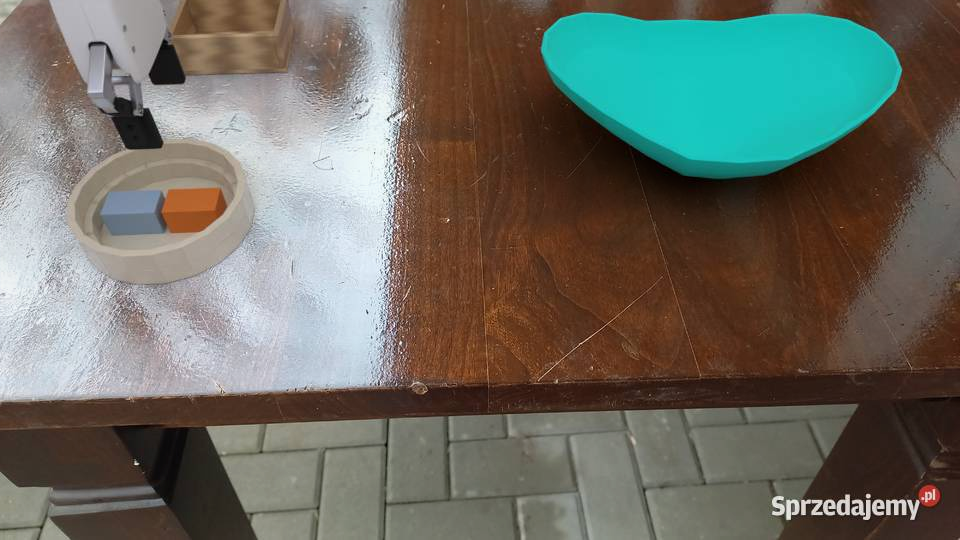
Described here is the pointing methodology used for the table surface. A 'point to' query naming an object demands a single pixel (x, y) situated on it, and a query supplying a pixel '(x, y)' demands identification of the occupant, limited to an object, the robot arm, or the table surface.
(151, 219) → the blue rectangular block
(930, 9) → the table surface
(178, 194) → the orange rectangular block
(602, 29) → the table top decor
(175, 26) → the holder
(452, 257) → the table surface
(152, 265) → the bowl
